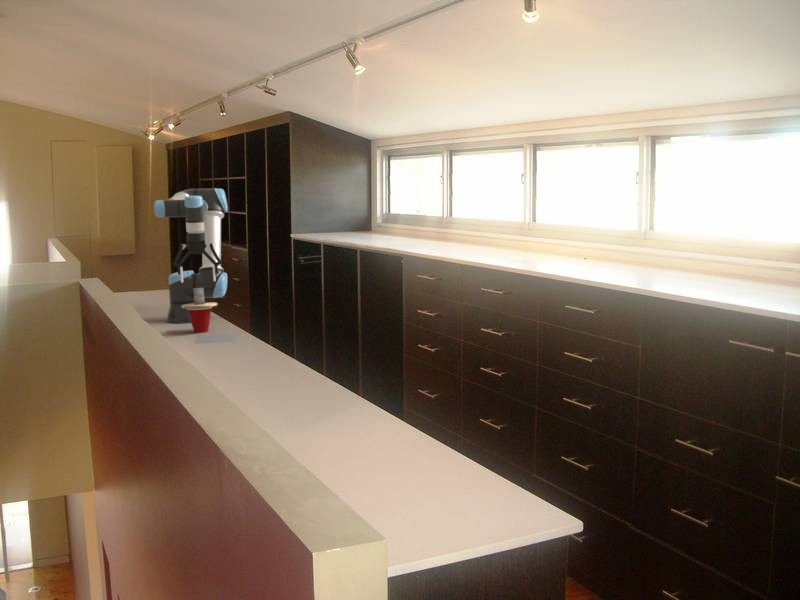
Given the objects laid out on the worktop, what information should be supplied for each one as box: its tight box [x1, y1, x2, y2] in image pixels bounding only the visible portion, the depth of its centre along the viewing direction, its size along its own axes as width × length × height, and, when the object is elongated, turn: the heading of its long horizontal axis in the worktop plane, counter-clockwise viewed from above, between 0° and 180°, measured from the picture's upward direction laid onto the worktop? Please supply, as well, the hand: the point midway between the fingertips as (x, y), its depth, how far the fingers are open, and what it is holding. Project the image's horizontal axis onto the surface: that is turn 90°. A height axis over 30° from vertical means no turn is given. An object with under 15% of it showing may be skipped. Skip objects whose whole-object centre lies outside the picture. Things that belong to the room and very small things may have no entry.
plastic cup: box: [187, 307, 213, 334], centre depth 346 cm, size 11×11×12 cm
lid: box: [182, 288, 218, 308], centre depth 344 cm, size 15×15×8 cm
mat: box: [194, 332, 237, 344], centre depth 332 cm, size 17×16×1 cm
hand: (198, 281), depth 343 cm, fingers open, 13 cm apart
